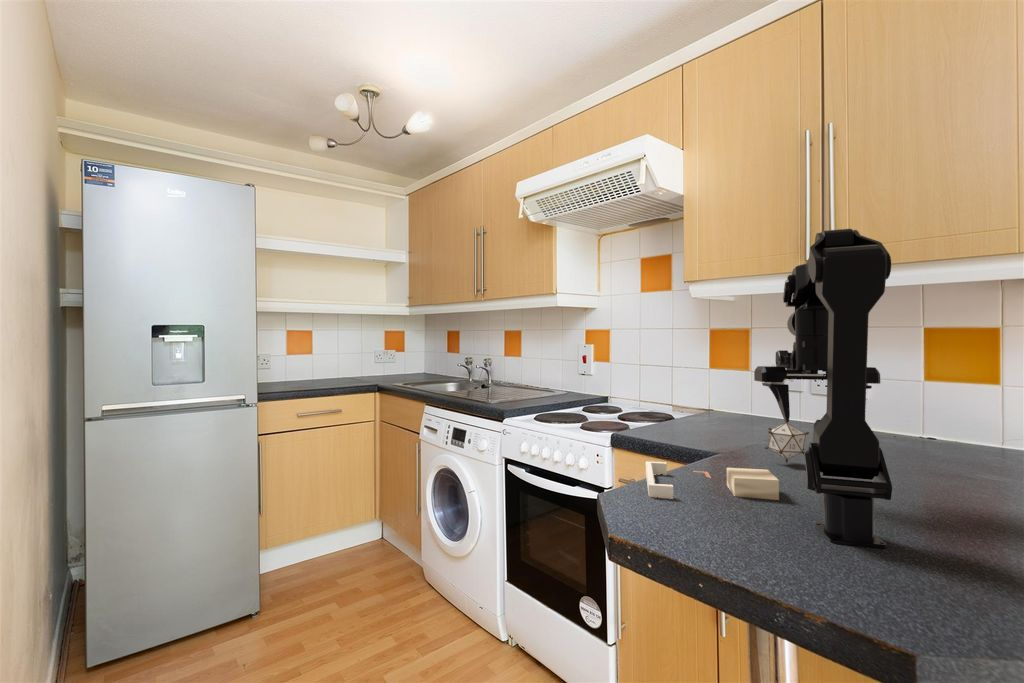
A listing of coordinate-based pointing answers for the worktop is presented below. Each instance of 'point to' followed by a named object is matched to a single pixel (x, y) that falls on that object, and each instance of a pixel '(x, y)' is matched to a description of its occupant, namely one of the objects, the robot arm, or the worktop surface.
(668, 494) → the cream u-shaped piece
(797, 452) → the game die
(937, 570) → the worktop surface
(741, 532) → the worktop surface
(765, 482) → the birch block
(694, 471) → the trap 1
